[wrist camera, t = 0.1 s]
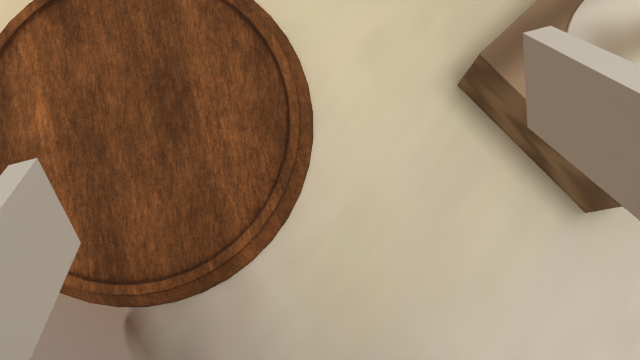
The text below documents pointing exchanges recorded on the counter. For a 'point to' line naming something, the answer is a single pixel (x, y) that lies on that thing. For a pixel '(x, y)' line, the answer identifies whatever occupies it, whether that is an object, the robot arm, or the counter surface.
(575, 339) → the counter surface
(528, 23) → the block
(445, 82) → the counter surface
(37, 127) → the cutting board
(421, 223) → the counter surface
